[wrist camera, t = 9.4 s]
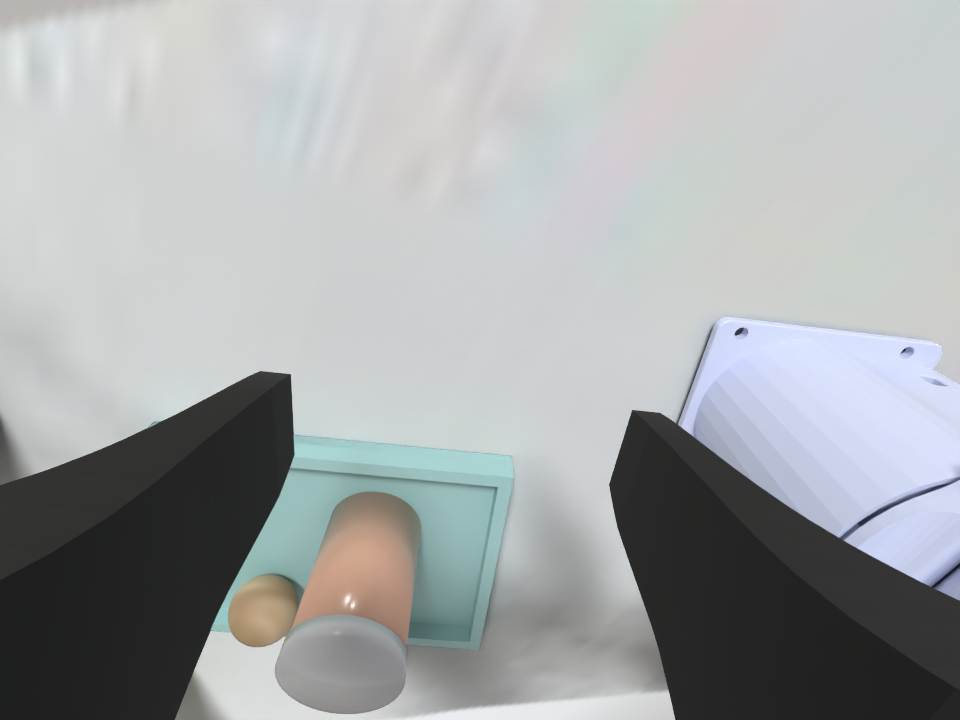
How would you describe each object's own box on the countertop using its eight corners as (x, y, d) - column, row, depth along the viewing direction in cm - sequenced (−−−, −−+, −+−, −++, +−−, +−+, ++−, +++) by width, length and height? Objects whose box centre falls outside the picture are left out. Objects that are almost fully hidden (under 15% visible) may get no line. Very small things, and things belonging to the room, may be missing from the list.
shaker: (428, 496, 24) (411, 642, 17) (417, 565, 26) (398, 718, 19) (329, 484, 23) (274, 629, 17) (326, 554, 25) (275, 708, 19)
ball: (306, 562, 26) (284, 620, 23) (307, 605, 27) (288, 664, 24) (241, 557, 25) (211, 615, 22) (246, 600, 27) (219, 659, 24)
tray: (511, 456, 23) (513, 477, 22) (479, 624, 29) (479, 650, 27) (153, 421, 22) (133, 441, 21) (189, 603, 28) (175, 628, 26)
